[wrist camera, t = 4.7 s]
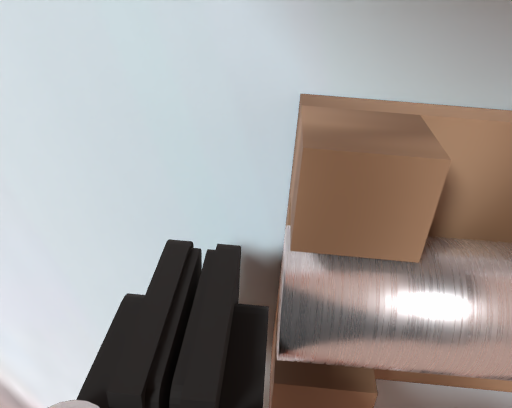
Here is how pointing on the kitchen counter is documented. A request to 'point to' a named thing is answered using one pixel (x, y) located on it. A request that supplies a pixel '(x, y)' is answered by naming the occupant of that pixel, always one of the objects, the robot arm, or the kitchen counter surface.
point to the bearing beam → (389, 210)
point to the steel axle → (401, 310)
